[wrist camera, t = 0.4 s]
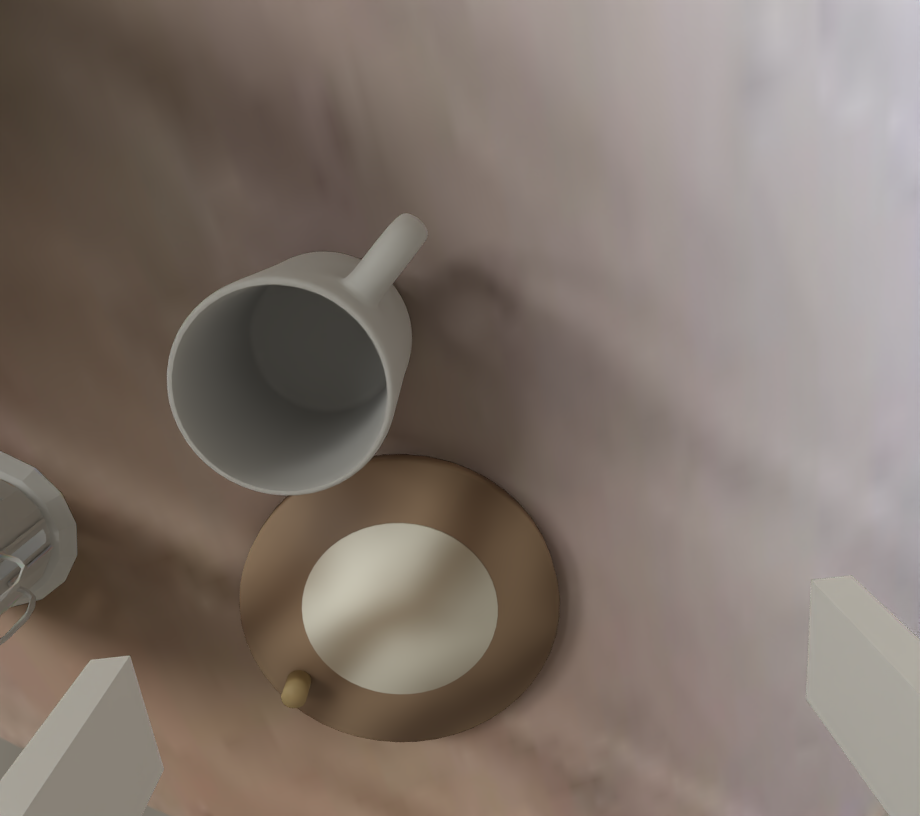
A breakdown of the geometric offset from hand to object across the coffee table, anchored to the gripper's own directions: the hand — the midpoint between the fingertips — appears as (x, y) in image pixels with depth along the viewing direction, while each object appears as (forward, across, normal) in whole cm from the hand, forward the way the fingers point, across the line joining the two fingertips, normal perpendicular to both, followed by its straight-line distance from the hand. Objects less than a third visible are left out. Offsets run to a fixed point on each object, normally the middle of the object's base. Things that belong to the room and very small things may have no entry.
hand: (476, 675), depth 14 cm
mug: (+24, -5, +4) cm, 25 cm away
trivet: (+24, -5, -13) cm, 28 cm away
